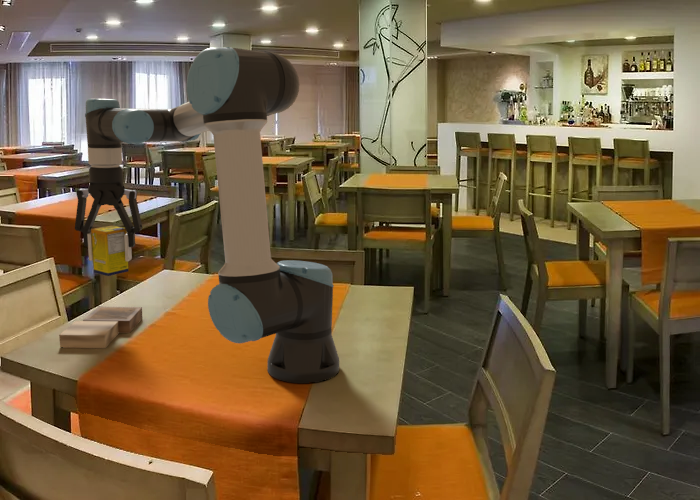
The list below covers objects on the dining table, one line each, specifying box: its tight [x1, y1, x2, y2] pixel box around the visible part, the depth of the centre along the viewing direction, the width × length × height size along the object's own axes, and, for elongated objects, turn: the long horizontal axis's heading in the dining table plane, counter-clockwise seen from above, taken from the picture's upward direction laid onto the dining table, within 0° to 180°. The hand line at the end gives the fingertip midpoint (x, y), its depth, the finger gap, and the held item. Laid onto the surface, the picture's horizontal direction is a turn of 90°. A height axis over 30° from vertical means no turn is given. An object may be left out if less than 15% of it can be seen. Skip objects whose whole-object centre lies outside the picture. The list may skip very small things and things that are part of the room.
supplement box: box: [90, 225, 129, 277], centre depth 162 cm, size 6×6×11 cm
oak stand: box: [58, 320, 120, 349], centre depth 156 cm, size 10×10×3 cm
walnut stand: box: [82, 306, 143, 334], centre depth 166 cm, size 11×11×3 cm
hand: (110, 259), depth 163 cm, fingers closed on supplement box, 8 cm apart
